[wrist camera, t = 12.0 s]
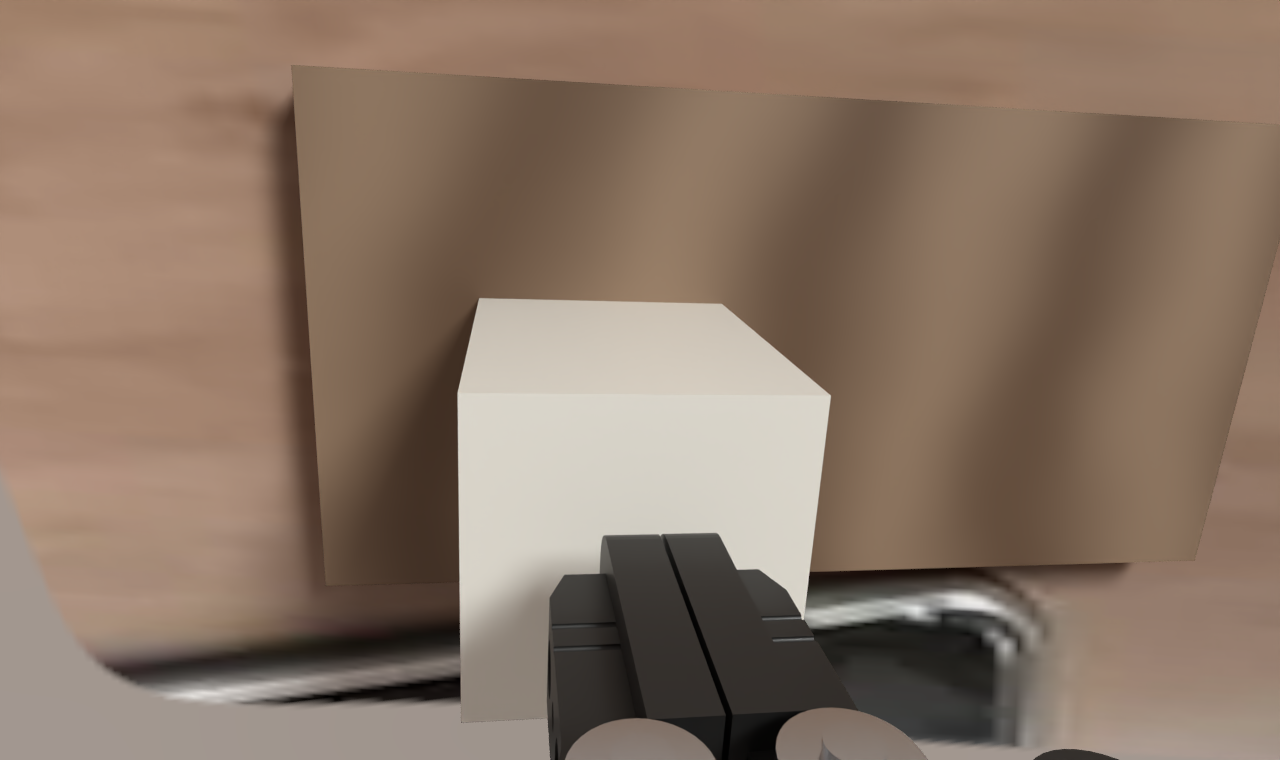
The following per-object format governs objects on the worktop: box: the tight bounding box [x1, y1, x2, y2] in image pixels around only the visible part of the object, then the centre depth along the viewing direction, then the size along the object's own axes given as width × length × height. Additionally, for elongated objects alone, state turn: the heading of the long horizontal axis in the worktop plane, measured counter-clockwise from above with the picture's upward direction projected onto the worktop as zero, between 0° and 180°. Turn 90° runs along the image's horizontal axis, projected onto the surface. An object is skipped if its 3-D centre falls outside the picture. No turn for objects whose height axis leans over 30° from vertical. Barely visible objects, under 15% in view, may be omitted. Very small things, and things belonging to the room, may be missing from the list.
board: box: [291, 65, 1280, 586], centre depth 19 cm, size 22×11×2 cm, turn 87°
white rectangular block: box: [458, 298, 831, 723], centre depth 15 cm, size 5×5×7 cm
